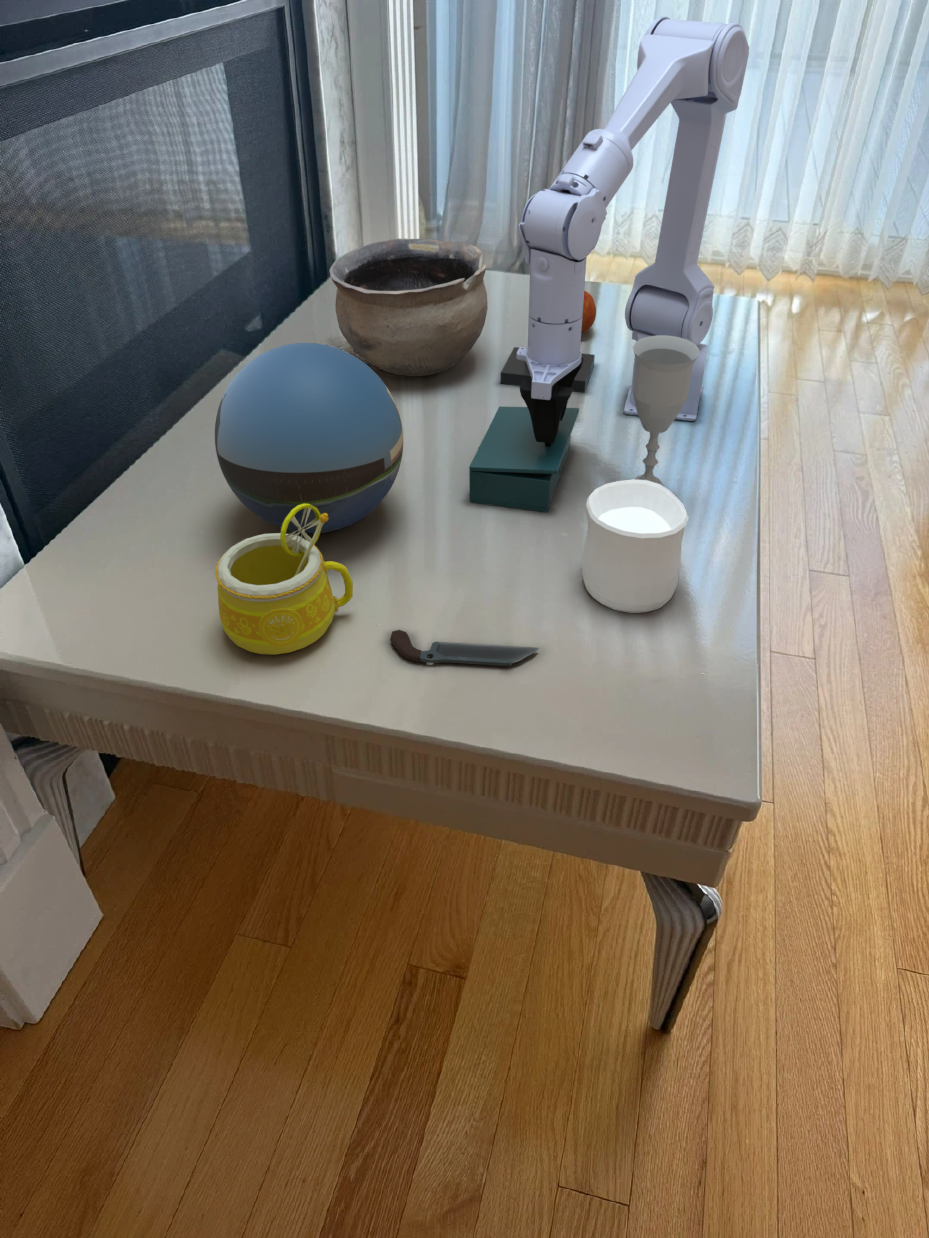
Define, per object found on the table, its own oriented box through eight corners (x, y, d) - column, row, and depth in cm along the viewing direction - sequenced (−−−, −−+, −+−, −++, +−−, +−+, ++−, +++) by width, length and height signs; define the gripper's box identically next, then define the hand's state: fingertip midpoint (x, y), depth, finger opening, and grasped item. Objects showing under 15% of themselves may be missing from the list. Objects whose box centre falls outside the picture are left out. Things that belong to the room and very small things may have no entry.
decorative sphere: (207, 563, 95) (165, 388, 83) (264, 469, 110) (236, 308, 97) (388, 578, 93) (373, 399, 80) (421, 479, 108) (413, 316, 95)
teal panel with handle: (579, 411, 110) (578, 377, 107) (557, 474, 99) (555, 438, 96) (499, 410, 113) (496, 377, 110) (469, 471, 101) (465, 435, 99)
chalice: (674, 518, 101) (699, 367, 89) (613, 512, 102) (630, 361, 90) (675, 484, 106) (699, 337, 95) (618, 479, 108) (634, 333, 96)
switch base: (593, 365, 132) (595, 342, 130) (584, 392, 125) (586, 368, 123) (514, 357, 134) (514, 335, 132) (500, 383, 128) (500, 360, 125)
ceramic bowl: (475, 402, 123) (474, 293, 114) (321, 392, 126) (308, 285, 116) (496, 338, 140) (497, 238, 130) (360, 330, 143) (351, 232, 133)
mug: (228, 674, 82) (202, 569, 74) (220, 602, 90) (196, 500, 83) (366, 648, 85) (355, 544, 77) (347, 580, 93) (335, 480, 85)
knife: (385, 661, 83) (385, 656, 83) (392, 633, 86) (392, 628, 86) (537, 670, 82) (537, 665, 81) (539, 642, 85) (539, 636, 85)
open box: (570, 448, 113) (572, 418, 111) (547, 512, 102) (549, 481, 100) (498, 439, 115) (499, 410, 113) (469, 502, 104) (469, 471, 101)
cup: (611, 546, 97) (620, 467, 91) (694, 581, 92) (710, 500, 86) (560, 589, 91) (566, 508, 85) (646, 629, 86) (659, 546, 80)
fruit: (541, 330, 142) (543, 279, 137) (579, 323, 144) (583, 272, 139) (563, 346, 137) (566, 294, 132) (602, 338, 139) (607, 287, 134)
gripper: (531, 287, 102) (528, 398, 110) (503, 338, 91) (502, 456, 100) (594, 291, 100) (585, 403, 109) (573, 344, 89) (565, 463, 98)
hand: (549, 429), depth 104 cm, fingers closed on teal panel with handle, 5 cm apart
